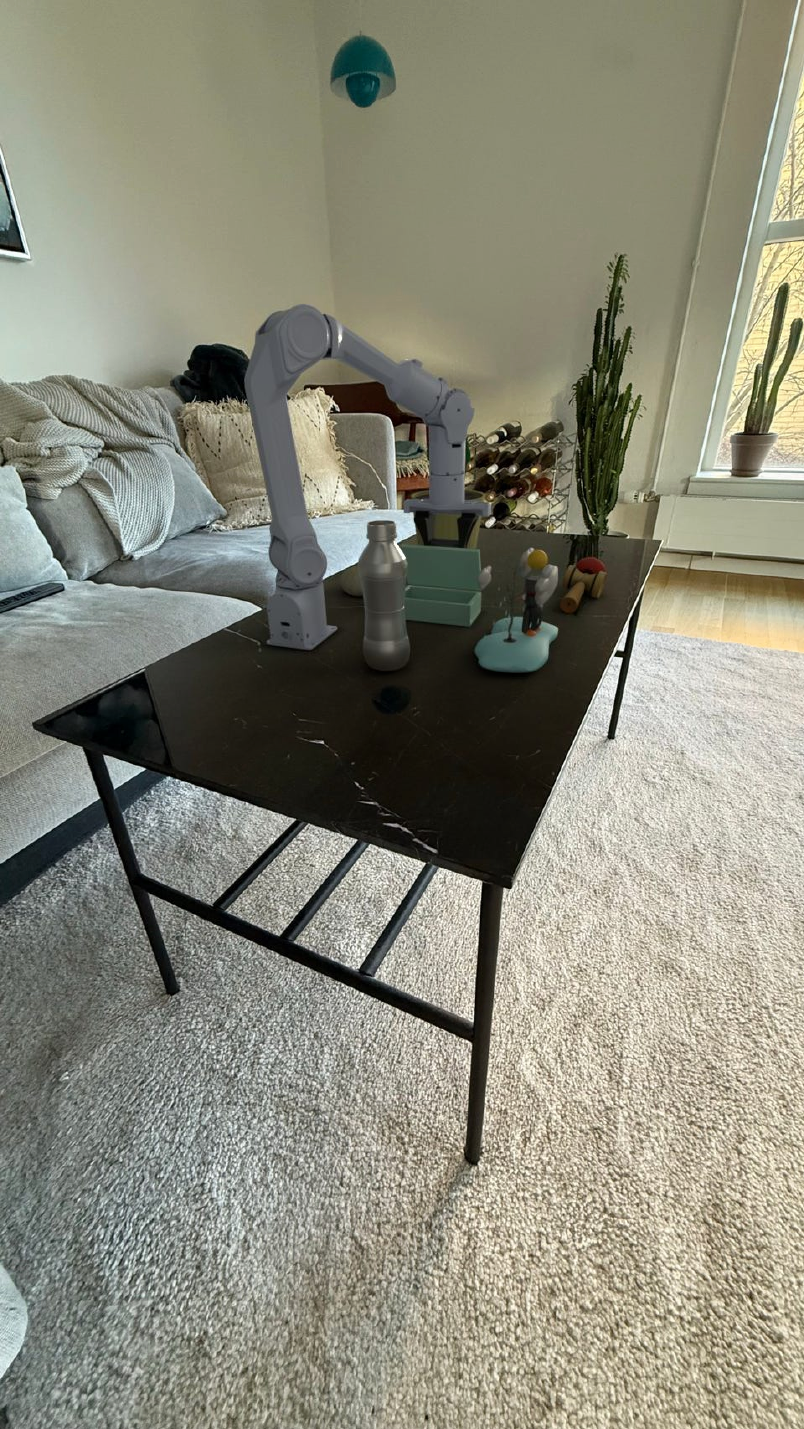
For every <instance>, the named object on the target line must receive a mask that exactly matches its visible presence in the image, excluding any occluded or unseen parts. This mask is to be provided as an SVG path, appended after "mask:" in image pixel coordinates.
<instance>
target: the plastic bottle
mask: <svg viewBox="0 0 804 1429" xmlns="http://www.w3.org/2000/svg"><path fill="white" fill-rule="evenodd" d="M365 537H366V539H367V540H368V543H367V544H366V545H365V547H364V548H363V550H362V552H361V554H360V556H359V557H358V561H357V565H358V573H359V577H360V582H361V587H362V592H363V596H362V597H363V599H362V600H363V604H364V636H363V642H362V654H363V658H364V661H365V663H366V664H367V666H368V667H369V668H371V669H372V670H375V671H380V672H392V671H397V670H400V669H403V668H404V667H405V666H406V665H407V663H408V662H409V660H410V655H411V647H410V645H411V644H410V640H409V636H408V632H407V624H406V622H407V621H406V620H405V613H404V609H405V606H404V603H405V588H406V587H407V566H408V564H407V561H406V558H405V556H404V554H403V552H402V550H401V547H400V546H399V545H398V544H397V542H396V539H397V538H398V532H397V522H396V521H394V520H387V519H377V520H371V521H368V522H367V523H366V536H365Z"/></svg>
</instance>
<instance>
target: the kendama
mask: <svg viewBox="0 0 804 1429" xmlns="http://www.w3.org/2000/svg"><path fill="white" fill-rule="evenodd" d="M607 576H608V575H607V572H606V567H605V565H604V563H603V562H602V561H601V560H600V559H598V558H596V557H593V556H588V557H587V556H586V557H584V558H582V559H580V560H578V561H577V562H576V564H575V565H572V564H570V565H568V567H567V568H566V570H565V573H564V576H563V581H562V585H561V586H562V588H563V589H565V590H569V591H568V592H567V593H566V594H565V595H564V596H563V597H562V599H561V600H560V602H559V608H560V609H561V611H562V612H564V613H566V614H572V613H574V612H575V611H576V610H577V609H578V607H579V603H580V601H581V599H582V596H583V594H584V591H585V590H586V591H587V592H588V593H589V595H590V597H592V598H595V599H599V598H600V596H601V594H602V591H603V589H604V586H605V583H606V580H607Z"/></svg>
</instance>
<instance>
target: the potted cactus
mask: <svg viewBox="0 0 804 1429" xmlns="http://www.w3.org/2000/svg"><path fill="white" fill-rule="evenodd" d="M424 435H425V436H426V437H427V440H426V442H424V444H425V446H424V448H426V450H424V451H422V452H423V453H422V454H425V455H426V456H425V457H423V459H424V461H425V462H424V464H427V463H429V432H427V433H426V432H425V433H424ZM469 435H470V433H467V438H466V441H465V476H466V477H468V476H469V475H468V473H467V470H468V464H469V463H472V457H471V453H472V452H473V451H474V449H472V450H471V449H470V446H471V445H473V444H472V443H470V442H469ZM425 459H426V460H425ZM467 484H470V483H468V482H464V485H467ZM485 497H486V494H485V493H484V492H483V491H478V490H473V489H472V490H471V489H468V488H467V487H465V486H464V500H471V501H479V502H485ZM410 499H429V489H428V490H421V491H417V492H413V493H412V494H410ZM453 511H457V510H453ZM412 514H413V515H412V516H413V518H414V517H415V515H416V513H412ZM461 516H462V515H456V514H436V518H435V528H434V539H449V540H459V539H458V525H457V519H458V518H459V517H461ZM481 520H482V516H479V518H478V520H477V522H476V524H475V526H474V529H473V531H472V533H471V536H470V539H469V542H468V545H467V549H477V544H478V539H479V538H478V537H479V532H480V527H481V522H482V521H481ZM414 528H415V535H416V542H417V545H422V546H424V543H423V540H422V537H421V535H420V532H419V530H418V528H417V527H416V525H415V524H414Z"/></svg>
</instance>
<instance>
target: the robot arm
mask: <svg viewBox="0 0 804 1429" xmlns="http://www.w3.org/2000/svg"><path fill="white" fill-rule="evenodd" d="M254 334H255V335H254V345H253V348H252V351H251V355H250V358H249V361H248V365H247V369H246V372H245V376H244V379H243V380H244V381H243V382H244V390H245V394H246V399H247V404H248V409H249V414H250V419H251V424H252V427H253V433H254V437H255V438H254V439H255V443H256V448H257V453H258V458H259V462H260V467H261V472H262V477H263V482H264V486H265V491H266V495H267V500H268V505H269V506H268V507H269V511H270V516H271V522H270V524H269V526H268V527H269V528H268V529H269V534H270V535H269V536H270V543H269V546H268V559H269V562H270V563H271V565H272V567H274V569H276V570H277V572H276V576H275V590H274V592H273V594H272V595H271V596H270V597H269V599H268V600H267V603H266V614H267V621H268V628H269V629H268V630H269V635H270V636H269V637H270V638H269V639H267V640H266V645H267V646H268V645H269V646H275V647H282V648H289V649H297V650H305V651H311V650H312V651H313V650H314V649H315V648H316V647H317V646H319V645H320V644H321V643H322V642H324V641H325V640H326V639H327V638H328V637H330V636H331V635H332V634H334V633H335V632H336V631H338V627H337V626H336V625H328V624H327V612H326V610H327V609H326V600H325V589H324V588H325V587H324V576H325V574H326V572H327V569H328V559H327V555H326V554H325V552H324V550H323V549H322V548H321V547H320V545H319V542H318V537H317V533H316V531H315V528H314V527H313V524H312V522H311V521H310V519H309V515H308V511H307V510H308V509H307V506H306V498H305V493H304V487H303V483H302V476H301V471H300V466H299V459H298V454H297V448H296V443H295V437H294V431H293V426H292V420H291V419H292V418H291V414H290V408H289V403H288V398H287V396H288V393H289V392H290V390H291V389H292V387H293V386H294V385H295V383H296V382H297V380H298V379H299V378H300V376H301V375H302V374H303V373H304V372H306V371H307V370H309V369H310V368H311V367H314V365H316V364H317V363H319V362H320V361H325V360H329V361H330V360H336V361H337V362H338V361H339V362H341V363H342V364H344V365H346V366H347V367H350V368H351V369H353V370H355V371H357V372H359V373H361V374H363V375H365V376H366V377H368V378H370V379H372V380H374V381H376V382H377V383H379V384H381V385H384V386H383V387H384V389H385V391H386V395H387V397H388V400H390V401H391V402H393V403H395V404H397V405H398V406H400V407H402V408H404V409H405V410H407V411H409V412H411V413H412V414H414V415H416V416H417V417H419V418H420V419H422V421H423V424H425V426H426V427H427V428H428V433H429V435H428V437H429V462H428V490H429V499H411V498H407V499H405V500H403V502H402V503H403V506H402V507H403V514H411V513H412V514H413V513H416V515H415V517H414V516H413V520H412V521H413V523H414V526H415V525H416V527H417V528H418V530H419V532H420V535H421V537H422V540H423V543H424V546H430V545H431V539H432V538H434V528H435V518H436V514H456V515H462V516H461V517H459V518H458V519H457V525H458V539H459V543H458V548H465V549H467V545H468V542H469V539H470V536H471V533H472V531H473V529H474V526H475V524H476V522H477V520H478V518H479V516H481V518H482V517H484V518H489V516H491V514H492V502H490V501H489V502H488V501H484V502H479V501H471V500H464V490H465V488H464V487H465V482H466V475H465V441H466V438H467V437H468V429H469V426H471V423H472V421H473V419H474V416H475V407H472V401H471V399H470V398H469V397H470V396H469V394H468V393H467V392H466V391H465V390H464V389H462V388H455V387H453V388H452V387H451V388H450V387H449V385H448V380H447V379H446V378H444V377H437V376H434V375H433V373H431V372H429V371H427V370H425V369H424V368H423V361H421V360H419V359H417V358H415V359H413V358H412V359H411V360H410V359H408V358H405V359H402V360H400V361H398V362H396V361H395V360H393V359H392V358H390V357H389V356H387V355H386V354H384V352H382V351H380V350H379V349H378V348H376V347H375V346H373V345H372V344H370V343H369V342H368V341H366V340H365V339H363V338H362V337H361V336H360V335H358V334H356V332H354V331H352V330H351V329H349V328H348V327H347V326H345V325H344V324H343V323H341V322H340V321H339V320H338V319H336V317H334V316H332V315H330V314H327V313H322V312H321V311H320V310H319V309H318V308H317V307H315V306H313V305H311V304H307V303H299V304H295V305H294V306H292V307H291V308H288V309H284V310H278V311H275V312H272V313H271V314H270V315H268V317H267V318H266V319H265V320H264V321H263V323H261V325H259V327H258V329H256V331H255V333H254ZM453 510H457V511H453Z"/></svg>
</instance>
